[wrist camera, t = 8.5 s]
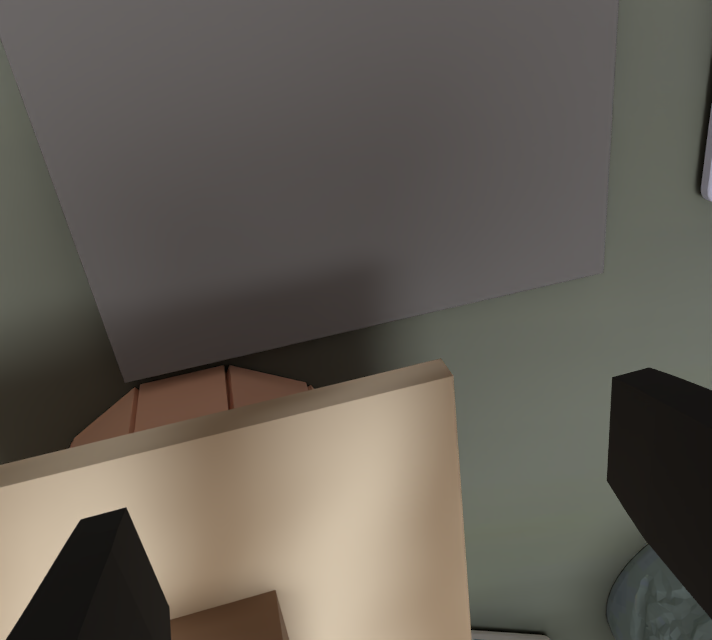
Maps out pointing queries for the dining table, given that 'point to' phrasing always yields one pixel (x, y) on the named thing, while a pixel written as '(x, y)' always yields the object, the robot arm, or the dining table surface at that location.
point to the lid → (271, 514)
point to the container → (504, 636)
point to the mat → (315, 159)
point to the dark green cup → (654, 604)
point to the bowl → (187, 400)
